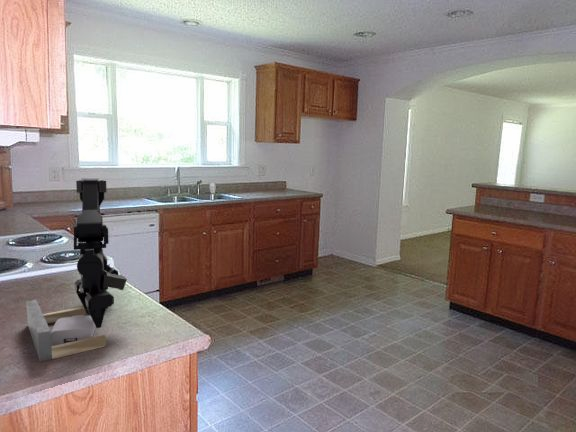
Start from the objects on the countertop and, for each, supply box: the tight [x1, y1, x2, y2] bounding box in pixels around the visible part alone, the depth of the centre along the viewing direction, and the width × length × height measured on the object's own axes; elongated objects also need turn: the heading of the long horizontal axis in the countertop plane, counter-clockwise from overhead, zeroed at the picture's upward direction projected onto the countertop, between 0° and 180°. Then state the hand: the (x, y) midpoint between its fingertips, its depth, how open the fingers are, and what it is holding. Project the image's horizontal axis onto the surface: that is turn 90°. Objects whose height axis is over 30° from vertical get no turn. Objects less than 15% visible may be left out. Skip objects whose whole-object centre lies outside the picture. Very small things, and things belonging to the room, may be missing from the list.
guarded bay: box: [25, 299, 107, 363], centre depth 112 cm, size 25×14×7 cm, turn 37°
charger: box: [50, 315, 96, 346], centre depth 113 cm, size 5×9×15 cm
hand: (94, 322), depth 117 cm, fingers open, 9 cm apart
